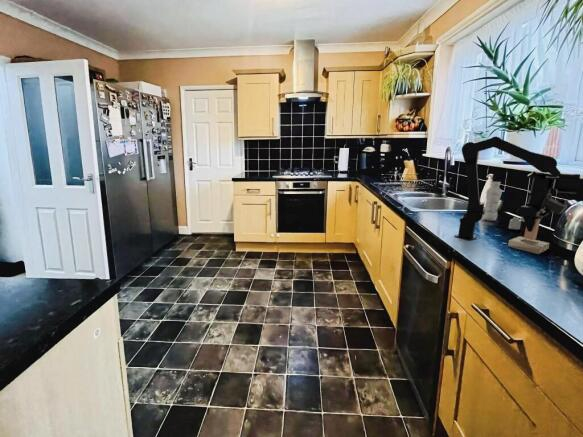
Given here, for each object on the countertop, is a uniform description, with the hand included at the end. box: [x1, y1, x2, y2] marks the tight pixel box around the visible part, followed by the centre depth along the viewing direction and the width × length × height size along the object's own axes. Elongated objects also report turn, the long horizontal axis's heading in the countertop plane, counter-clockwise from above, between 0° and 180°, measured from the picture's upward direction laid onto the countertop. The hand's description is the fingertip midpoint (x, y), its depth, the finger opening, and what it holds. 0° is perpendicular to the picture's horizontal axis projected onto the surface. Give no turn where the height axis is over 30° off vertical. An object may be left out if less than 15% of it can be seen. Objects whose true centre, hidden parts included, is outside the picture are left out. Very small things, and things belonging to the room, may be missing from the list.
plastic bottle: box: [482, 181, 503, 222], centre depth 163 cm, size 6×7×20 cm
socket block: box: [507, 236, 550, 255], centre depth 123 cm, size 10×10×2 cm
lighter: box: [508, 215, 525, 230], centre depth 149 cm, size 7×2×8 cm, turn 78°
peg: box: [523, 218, 541, 240], centre depth 122 cm, size 3×3×8 cm
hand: (531, 230), depth 122 cm, fingers closed on peg, 3 cm apart
